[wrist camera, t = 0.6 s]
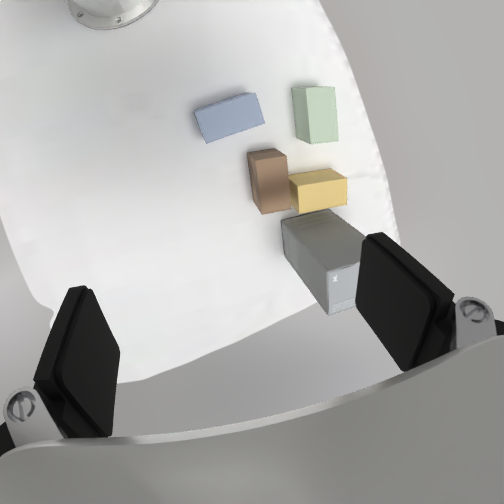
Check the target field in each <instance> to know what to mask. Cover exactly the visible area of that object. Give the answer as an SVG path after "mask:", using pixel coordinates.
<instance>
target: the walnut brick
mask: <svg viewBox="0 0 504 504" xmlns="http://www.w3.org/2000/svg"><path fill="white" fill-rule="evenodd" d="M247 157H248V164H249V172H250V179H251V186H252V194H253V201H254V203H255V204H256V206H257V207H258V209H259V211H260V212H261V214H262V215H263V214H268V213H273V212H278V211H283V210H288V209H291V202H290V190H289V178H288V167H287V156H286V155H285V154H283V153H281V152H280V151H278V150H277V149H275V148H273V149H267V150H261V151H254V152H249V153H247Z"/></svg>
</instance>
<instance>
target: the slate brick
mask: <svg viewBox="0 0 504 504" xmlns="http://www.w3.org/2000/svg"><path fill="white" fill-rule="evenodd" d="M194 114H195V116H196V119H197V122H198V124H199V127H200V130H201V132H202V135H203V138H204V140H205V142H206V144H207V143H210V142H213V141H215V140H218V139H221V138H223V137H226V136H229V135H232V134H235V133H238V132H241V131H244V130H247V129H250V128H253V127H256V126H259V125H262V124H265V121H264V118H263V115H262V112H261V109H260V106H259V102H258V99H257V96H256V93H244V94H241V95H238V96H235V97H232V98H229V99H226V100H223V101H220V102H217V103H214V104H211V105H208V106H205V107H203V108H200V109H197V110H194Z"/></svg>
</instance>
